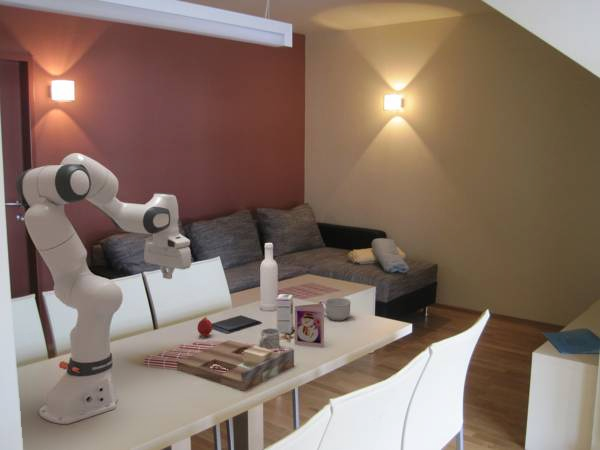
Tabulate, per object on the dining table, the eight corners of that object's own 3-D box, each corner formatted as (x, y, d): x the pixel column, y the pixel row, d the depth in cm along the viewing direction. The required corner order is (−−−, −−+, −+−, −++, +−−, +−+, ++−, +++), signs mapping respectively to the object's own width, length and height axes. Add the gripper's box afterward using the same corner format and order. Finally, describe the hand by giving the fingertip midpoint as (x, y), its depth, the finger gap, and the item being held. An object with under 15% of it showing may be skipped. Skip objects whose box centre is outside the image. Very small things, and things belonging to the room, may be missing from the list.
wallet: (226, 331, 250) (203, 322, 261) (226, 336, 250) (203, 327, 261) (264, 320, 264) (241, 312, 274) (264, 324, 264) (241, 317, 275)
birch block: (262, 370, 205) (261, 356, 205) (243, 365, 210) (243, 350, 209) (273, 365, 210) (273, 350, 209) (255, 359, 215) (255, 345, 214)
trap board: (244, 391, 197) (244, 373, 196) (177, 369, 214) (176, 352, 213) (293, 365, 218) (293, 349, 217) (228, 347, 235) (228, 332, 234)
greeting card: (293, 345, 238) (293, 306, 236) (299, 338, 245) (299, 301, 243) (323, 348, 235) (323, 309, 232) (328, 341, 242) (328, 303, 239)
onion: (209, 339, 244) (209, 319, 243) (195, 338, 245) (195, 318, 244) (214, 334, 250) (214, 315, 248) (200, 333, 251) (200, 314, 250)
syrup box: (291, 333, 251) (291, 298, 249) (276, 332, 252) (276, 297, 250) (293, 328, 257) (293, 294, 255) (279, 328, 258) (279, 293, 256)
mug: (268, 344, 239) (267, 327, 238) (282, 347, 236) (282, 330, 235) (252, 352, 231) (252, 334, 230) (267, 355, 227) (267, 338, 226)
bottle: (270, 305, 290) (270, 241, 285) (281, 309, 284) (281, 243, 279) (256, 308, 285) (256, 243, 280) (267, 312, 279) (267, 245, 274)
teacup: (354, 317, 272) (355, 299, 271) (342, 324, 263) (343, 305, 262) (326, 312, 280) (326, 294, 278) (314, 318, 271) (314, 300, 269)
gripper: (138, 237, 221) (140, 275, 224) (180, 243, 210) (181, 284, 212) (152, 234, 227) (154, 272, 229) (193, 241, 215) (194, 280, 217)
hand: (167, 278), depth 220 cm, fingers closed
